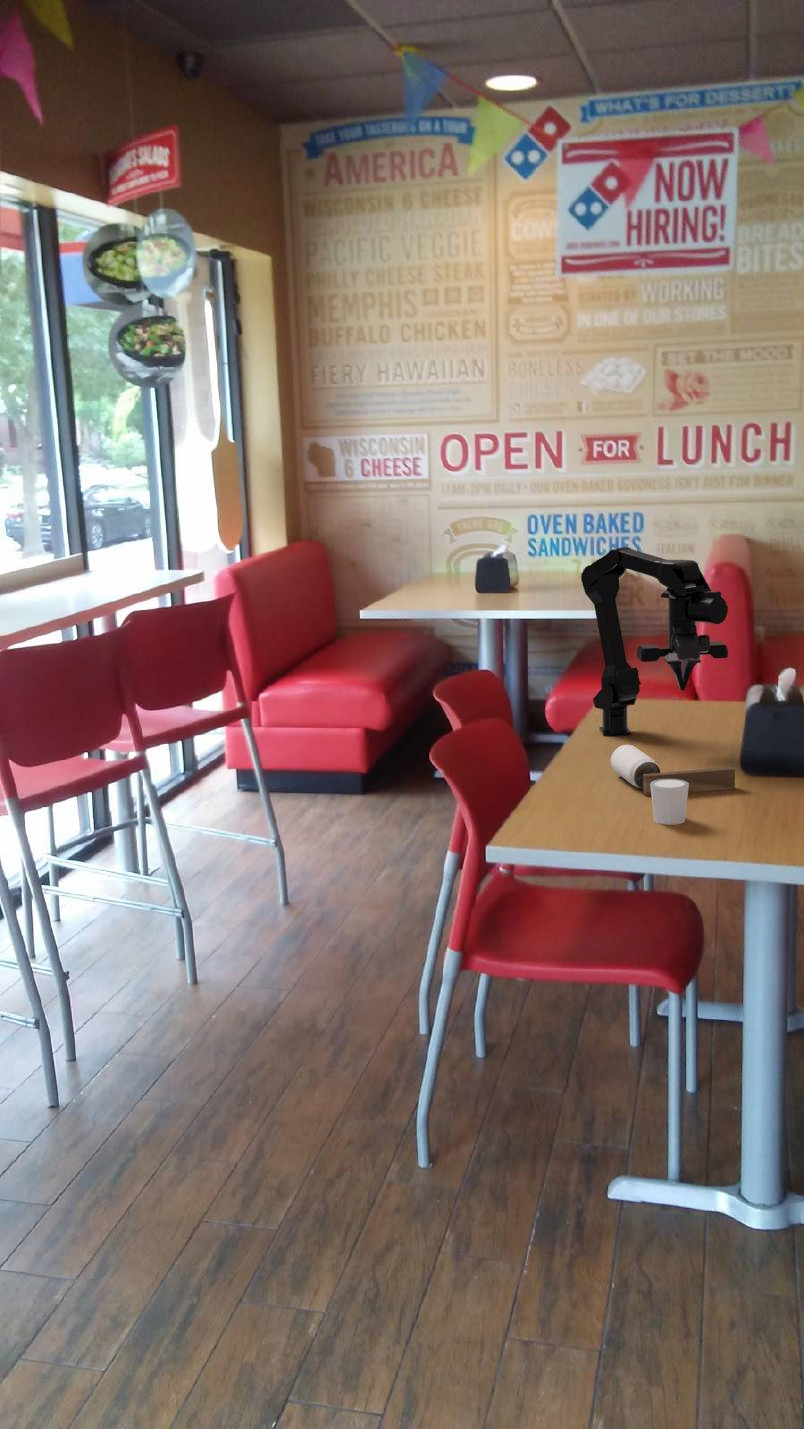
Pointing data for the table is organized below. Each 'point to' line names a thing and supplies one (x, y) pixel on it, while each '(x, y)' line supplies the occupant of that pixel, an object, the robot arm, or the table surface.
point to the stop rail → (696, 779)
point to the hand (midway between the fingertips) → (682, 690)
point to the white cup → (669, 801)
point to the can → (633, 764)
